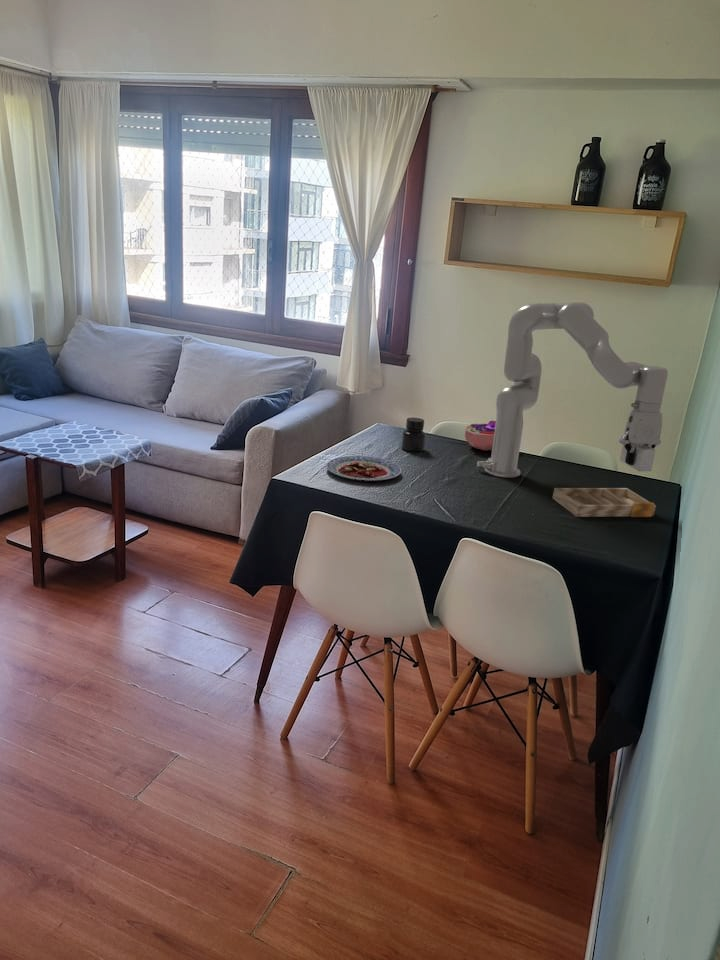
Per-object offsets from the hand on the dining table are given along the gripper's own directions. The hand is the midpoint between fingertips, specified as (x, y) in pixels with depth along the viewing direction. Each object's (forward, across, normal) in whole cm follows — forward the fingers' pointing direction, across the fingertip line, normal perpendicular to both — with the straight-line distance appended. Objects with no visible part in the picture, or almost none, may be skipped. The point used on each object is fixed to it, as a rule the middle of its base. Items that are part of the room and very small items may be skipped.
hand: (635, 463), depth 211 cm
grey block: (+1, 0, 0) cm, 1 cm away
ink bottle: (+14, -55, +62) cm, 84 cm away
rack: (+15, -9, 0) cm, 17 cm away
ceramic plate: (+15, -80, +33) cm, 88 cm away
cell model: (+15, -24, +64) cm, 70 cm away
